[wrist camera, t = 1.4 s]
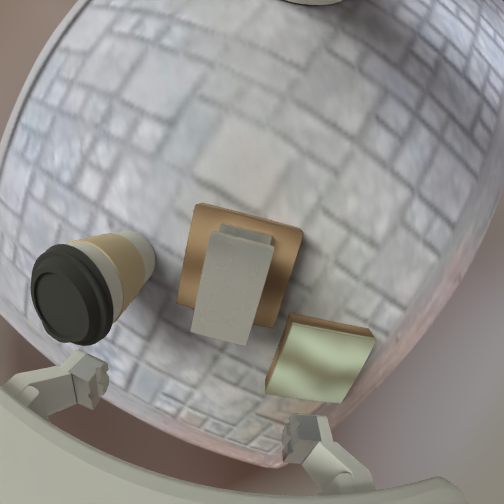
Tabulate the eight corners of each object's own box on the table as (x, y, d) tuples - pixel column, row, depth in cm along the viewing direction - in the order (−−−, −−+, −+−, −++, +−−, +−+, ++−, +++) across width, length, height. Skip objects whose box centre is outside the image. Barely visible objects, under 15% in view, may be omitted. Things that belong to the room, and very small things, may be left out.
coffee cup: (110, 210, 30) (22, 233, 15) (174, 239, 30) (106, 285, 16) (95, 273, 32) (21, 322, 17) (152, 303, 32) (94, 374, 18)
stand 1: (201, 202, 29) (195, 204, 26) (299, 228, 30) (303, 232, 27) (183, 293, 32) (176, 303, 29) (272, 316, 32) (272, 328, 29)
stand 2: (290, 312, 32) (292, 324, 29) (368, 328, 32) (376, 340, 29) (265, 379, 35) (265, 393, 32) (336, 389, 35) (340, 403, 32)
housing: (222, 221, 27) (210, 233, 21) (271, 234, 27) (274, 249, 21) (203, 302, 29) (190, 331, 23) (248, 314, 29) (245, 346, 23)
